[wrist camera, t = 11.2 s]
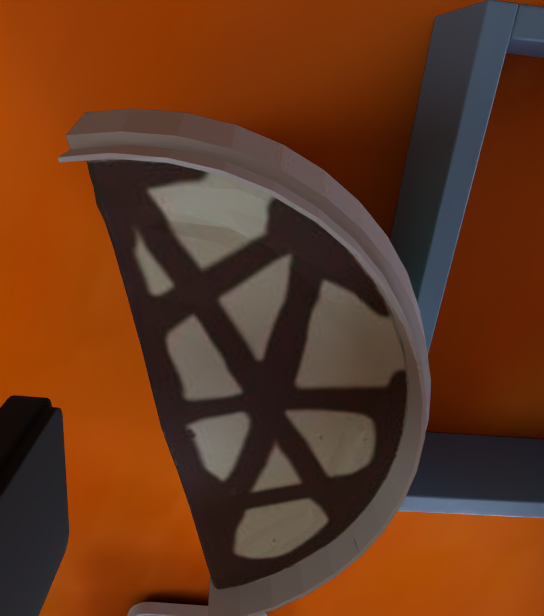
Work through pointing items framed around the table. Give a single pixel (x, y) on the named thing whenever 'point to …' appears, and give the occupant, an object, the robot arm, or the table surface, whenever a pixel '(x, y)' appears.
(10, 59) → the table surface
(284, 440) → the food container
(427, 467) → the rectangular frame
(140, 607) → the smartphone
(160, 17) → the table surface
